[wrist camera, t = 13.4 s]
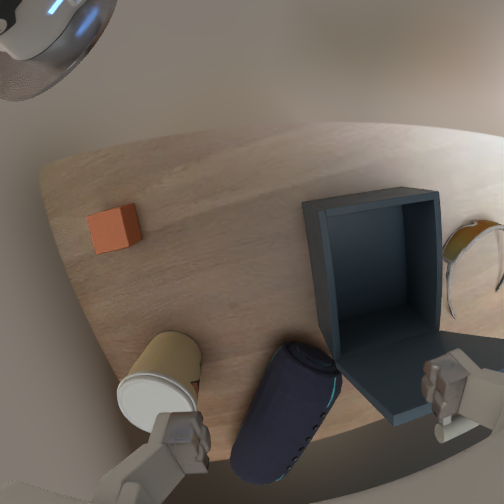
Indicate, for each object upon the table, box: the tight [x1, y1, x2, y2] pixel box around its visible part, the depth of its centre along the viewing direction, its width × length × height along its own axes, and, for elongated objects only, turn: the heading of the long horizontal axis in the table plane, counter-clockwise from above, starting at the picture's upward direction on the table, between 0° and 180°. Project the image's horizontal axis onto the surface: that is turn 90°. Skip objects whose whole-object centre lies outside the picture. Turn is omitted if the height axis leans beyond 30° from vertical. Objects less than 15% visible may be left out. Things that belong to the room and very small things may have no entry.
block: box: [87, 203, 142, 254], centre depth 34 cm, size 5×5×5 cm
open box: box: [302, 187, 442, 361], centre depth 34 cm, size 17×14×9 cm
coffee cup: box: [117, 331, 202, 433], centre depth 35 cm, size 9×9×12 cm
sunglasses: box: [442, 220, 504, 319], centre depth 37 cm, size 14×15×5 cm
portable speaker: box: [230, 341, 342, 485], centre depth 38 cm, size 25×10×10 cm, turn 163°
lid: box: [335, 331, 504, 443], centre depth 22 cm, size 17×14×5 cm
